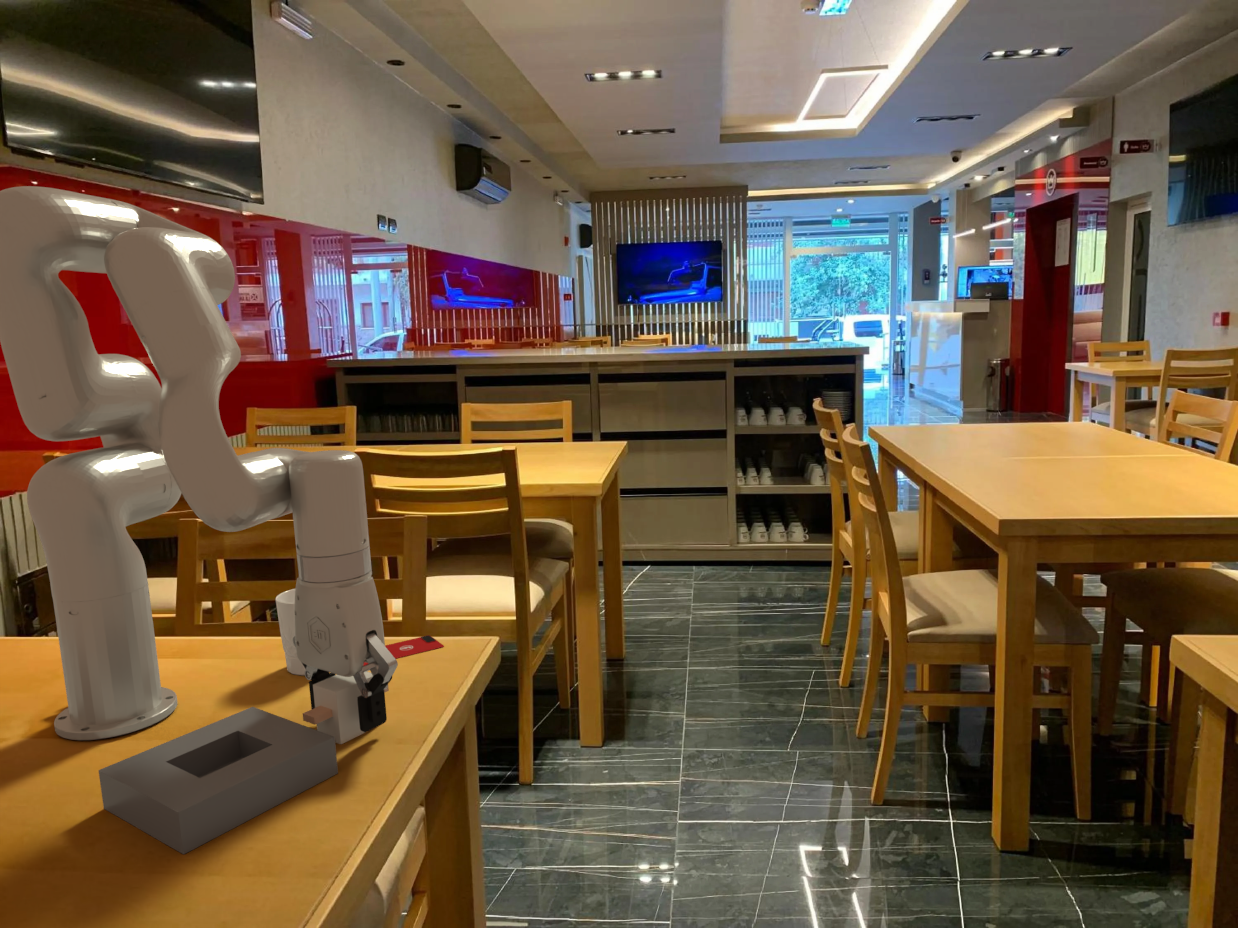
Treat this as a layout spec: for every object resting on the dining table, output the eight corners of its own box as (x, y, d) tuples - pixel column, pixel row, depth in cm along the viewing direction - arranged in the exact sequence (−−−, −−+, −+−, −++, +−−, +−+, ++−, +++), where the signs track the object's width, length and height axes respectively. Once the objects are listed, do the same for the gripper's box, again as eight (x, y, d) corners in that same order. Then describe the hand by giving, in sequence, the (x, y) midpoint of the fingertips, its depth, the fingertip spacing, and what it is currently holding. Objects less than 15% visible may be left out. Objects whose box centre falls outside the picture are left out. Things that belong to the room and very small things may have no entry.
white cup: (300, 654, 121) (294, 585, 120) (354, 655, 120) (348, 585, 118) (271, 676, 113) (263, 603, 112) (328, 678, 112) (321, 603, 111)
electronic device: (337, 676, 114) (445, 649, 122) (337, 672, 114) (444, 645, 122) (325, 662, 119) (429, 638, 127) (324, 658, 119) (429, 634, 127)
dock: (103, 808, 83) (98, 769, 82) (256, 740, 96) (252, 706, 95) (183, 854, 75) (178, 812, 74) (337, 772, 88) (334, 736, 87)
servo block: (300, 744, 94) (294, 691, 93) (373, 709, 102) (369, 661, 102) (323, 753, 92) (318, 699, 91) (396, 716, 100) (392, 667, 99)
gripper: (256, 563, 96) (272, 714, 99) (359, 584, 86) (374, 751, 89) (314, 548, 102) (327, 690, 105) (416, 566, 92) (428, 722, 95)
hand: (348, 717), depth 97 cm, fingers open, 7 cm apart
